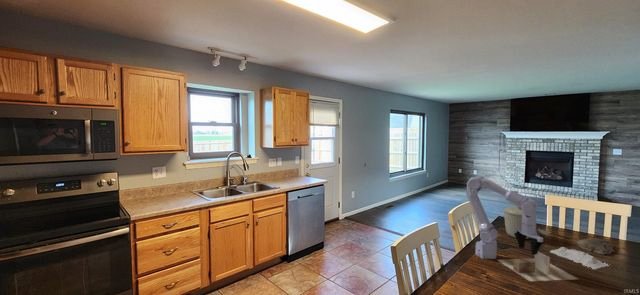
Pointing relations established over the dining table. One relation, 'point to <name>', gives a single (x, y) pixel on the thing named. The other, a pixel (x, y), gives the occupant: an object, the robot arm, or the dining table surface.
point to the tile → (542, 262)
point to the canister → (513, 219)
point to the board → (541, 273)
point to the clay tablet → (596, 245)
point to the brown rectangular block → (524, 265)
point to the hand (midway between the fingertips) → (527, 250)
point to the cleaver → (551, 233)
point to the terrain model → (579, 257)
